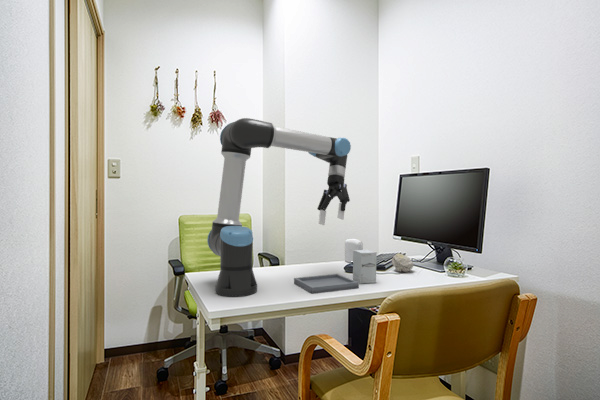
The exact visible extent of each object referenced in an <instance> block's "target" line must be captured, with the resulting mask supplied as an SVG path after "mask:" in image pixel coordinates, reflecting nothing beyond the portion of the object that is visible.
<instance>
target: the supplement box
mask: <svg viewBox="0 0 600 400" xmlns="http://www.w3.org/2000/svg"><path fill="white" fill-rule="evenodd" d="M377 255H378V254H377V251H375V250H371V249H363V250H353V263H352V280H354V281H357V282H359V285H360V284H376V283H377V257H378V256H377Z"/></svg>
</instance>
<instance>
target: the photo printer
mask: <svg viewBox="0 0 600 400" xmlns="http://www.w3.org/2000/svg"><path fill="white" fill-rule="evenodd" d="M363 245H364V244H363V242H362V241H361V240H360V239H357V238H348V239H346V240H345V241H344V262H347V263H351V261H353V250H364V249H363V248H364V246H363Z"/></svg>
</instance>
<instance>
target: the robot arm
mask: <svg viewBox="0 0 600 400" xmlns="http://www.w3.org/2000/svg"><path fill="white" fill-rule="evenodd" d="M219 135H220V136H219V141H220V144H221V150H220V151H221V152H220V154H221V155H222V156H223V167H222V175H221V184H220V191H219V200H218V208H217V216H216V218H215V219H213V220H212V224H211V230H210V231H209V232H208V235H207V246H208V248H209V249H210V251H211V252H212V253H213V254H214V255H216V256H218V257H220V259H219V263H220V265H219V266H220V270H219V275H218V277H217V280H216V284H215V286H214V287H215V290H214V291H215V294H217V295H219V294H220V295H219V296H223V295H224V296H223V297H244V296H250V295H252V294H255V293H257V292H258V283H257V280H256V277H255V274H254V271H253V262H254V261H253V257H254V256H253V255H254V254H253V252H254V249H253V248H254V246H253V245H254V243H253V242H254V236H253V230H252V229H251V228H249V227H248V226H243V224H242V222H241V221H240V213H241V204H242V198H243V197H242V196H243V189H244V180H245V170H246V163H247V161H248V160H249V159H250V158H251V154H252V153H251V152H252V149H254V148H265V149H269V148H271V147H275V148H281V149H286V150H293V151H300V152H307V153H308V154H309V155H310V156H312V157H315V158H316V159H320V160H322V161H324V162H325V163H328V164H329V167H328V173H327V180H326V181H327V182H326V184H327V187H328V188H327V189H323V193H322V196H321V198H320V201H319V204H318V206H317V210H318V211H319V215H318V216H319V219H318V224H319V225H322V226H325V224H326V223H325V222H326V217H327V209H328V207H329V206H330V203H331V201H332V200H334V198H335V197H337V198H338V200H339V203H338V208H337V209H338V211H337V218H338V219H340V220H344V218H345V211H346V205H347V203H349V202H351V200H350V197H349V192H348V188H347V186H348V185H347V183H345V177H346V168H347V161H348V155H349V154H350V153H351V149H352V148H351V147H352V145H351V142H350V141H349V139H348V138H346V137H338V138H337V137H331V136H326V135H320V134H316V133H309V132H305V131H301V130H300V131H299V130H294V129H290V128H284V127H279V126H275V125H274V124H273V123H272V122H268V121H263V120H258V119H255V118H249V117H246V118H245V117H244V118H240V119H237V120H235V121H233V122H229V123H228V124H227V125H225V126H224V127H223V129H222V130H221V132H220V134H219Z"/></svg>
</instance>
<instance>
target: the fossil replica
mask: <svg viewBox="0 0 600 400" xmlns="http://www.w3.org/2000/svg"><path fill="white" fill-rule="evenodd" d="M391 265H392V266H393V267H395V268H394V269H395V270H396V271H397V272H401V273H402V272H404V273H407V272H410V271H411V269H412V270H413V267H414V265H415V264H414V262H413V261H412V260H411V258H410V257H408V256H406V255H404V254H402V253H399V252H398V253H396V254H395V255H393V257H392V259H391Z"/></svg>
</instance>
